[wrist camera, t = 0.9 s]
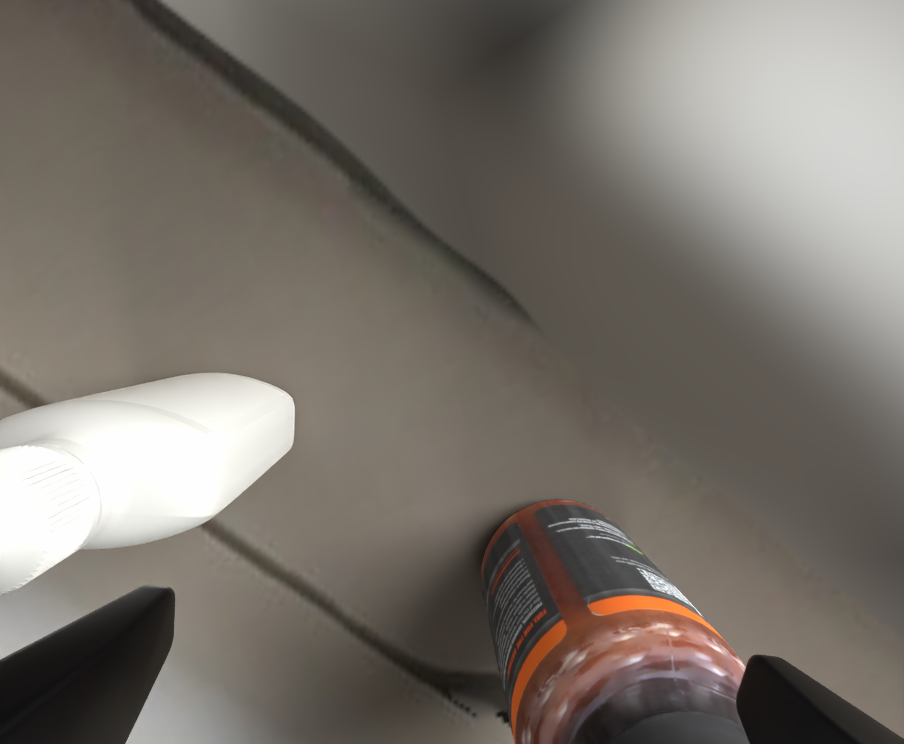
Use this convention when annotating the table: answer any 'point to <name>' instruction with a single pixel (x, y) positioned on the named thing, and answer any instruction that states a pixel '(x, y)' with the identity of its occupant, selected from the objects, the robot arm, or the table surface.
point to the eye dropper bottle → (132, 465)
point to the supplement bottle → (601, 638)
